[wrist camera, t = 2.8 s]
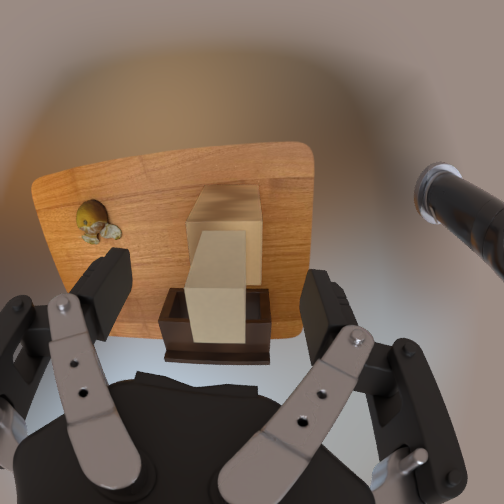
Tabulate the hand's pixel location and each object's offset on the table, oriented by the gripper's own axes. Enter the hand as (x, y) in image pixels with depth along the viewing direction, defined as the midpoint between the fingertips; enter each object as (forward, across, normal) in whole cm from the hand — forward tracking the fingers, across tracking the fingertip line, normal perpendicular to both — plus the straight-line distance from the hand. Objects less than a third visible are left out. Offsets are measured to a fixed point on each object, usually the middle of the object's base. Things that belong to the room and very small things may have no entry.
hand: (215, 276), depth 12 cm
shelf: (+30, +1, +28) cm, 41 cm away
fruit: (+31, +24, +14) cm, 41 cm away
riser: (+30, 0, +9) cm, 32 cm away
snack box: (+16, 0, +9) cm, 19 cm away
